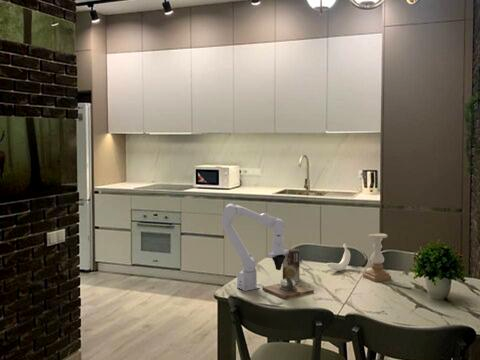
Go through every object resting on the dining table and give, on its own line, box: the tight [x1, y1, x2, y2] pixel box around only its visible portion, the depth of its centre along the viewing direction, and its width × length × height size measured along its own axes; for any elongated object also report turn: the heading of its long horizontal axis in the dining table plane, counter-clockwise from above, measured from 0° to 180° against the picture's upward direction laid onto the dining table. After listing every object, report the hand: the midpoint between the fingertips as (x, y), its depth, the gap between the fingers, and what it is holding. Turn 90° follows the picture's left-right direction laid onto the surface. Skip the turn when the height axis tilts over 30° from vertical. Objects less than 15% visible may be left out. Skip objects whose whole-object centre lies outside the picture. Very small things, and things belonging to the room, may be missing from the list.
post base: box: [262, 282, 315, 300], centre depth 258 cm, size 18×18×2 cm
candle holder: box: [362, 232, 392, 283], centre depth 279 cm, size 11×11×24 cm
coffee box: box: [282, 248, 300, 282], centre depth 279 cm, size 9×6×16 cm
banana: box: [326, 242, 351, 272], centre depth 296 cm, size 5×19×15 cm, turn 136°
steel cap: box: [280, 278, 296, 290], centre depth 255 cm, size 12×7×4 cm, turn 3°
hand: (278, 269), depth 263 cm, fingers closed
